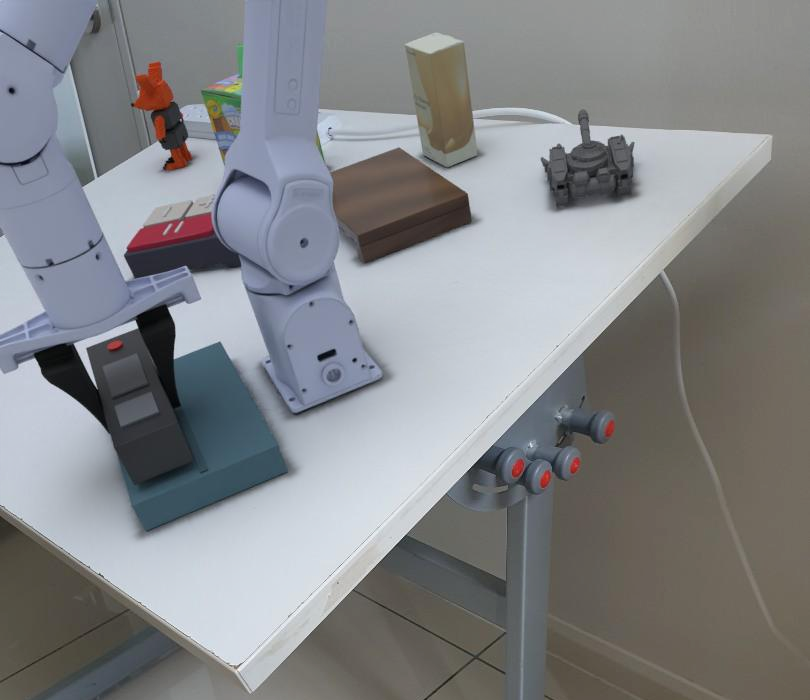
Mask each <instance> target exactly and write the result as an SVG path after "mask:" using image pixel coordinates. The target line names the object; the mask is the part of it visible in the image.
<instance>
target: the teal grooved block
mask: <svg viewBox="0 0 810 700" xmlns="http://www.w3.org/2000/svg"><path fill="white" fill-rule="evenodd" d="M174 374H175V383H176V389H177V394H178V397H179V401H180V403H181V406H180V407H177V408H175V409H174V411H175V413H176V416H177V418H178V421H179V423H180V426H181V428H182V430H183V433H184V435H185V438H186V440H187V443H188V445H189V448H190V450H191V453H192V455H193V458H194V461H192V462H190V463H188V464H185V465H183V466H180V467H178V468H175V469H173V470H170V471H168V472H166V473H163V474H161V475H158V476H156V477H153V478H151V479H148V480H146V481H144V482H141V483H139V484H136V485H134V484H133V482H132V480H131V478H130V476H129V475H128V473H127V471H126V469H125V467H124V465H123V463H122V462H121V460H120V458H119V456H118V454H117V453H116V454H117V458H118V463H119V465H120V469H121V472H122V473H121V474H122V476H123V479H124V484H125V486H126V490H127V494H128V497H129V501H130V504H131V507H132V509H133V511H134V513H135V514H136V516H137V518H138V520H139V522H140V523H141V525H142V527H143V529H144V530H145V532H147V531H151V530H152V529H155V528H157V527H160V526H162V525H164V524H167V523H169V522H171V521H174V520H176V519H179V518H180V517H183V516H185V515H188V514H190V513H193V512H195V511H198V510H200V509H203V508H205V507H207V506H209V505H213V504H214V503H217V502H219V501H221V500H224V499H226V498H228V497H231V496H233V495H236V494H238V493H241V492H243V491H246V490H248V489H251V488H252V487H255V486H257V485H260V484H262V483H264V482H267V481H269V480H272V479H274V478H277V477H278V476H281V475H283V474H286V473H288V472H289V471H288V468H287V465H286V463H285V460H284V457H283V455H282V452H281V450H280V447H279V444H278V442H277V441H276V439H275V437H274V435H273V434H272V432H271V430H270V428H269V426H268V425H267V423H266V421H265V419H264V417H263V416H262V414H261V412H260V410H259V408H258V407H257V404H256V402H255V401H254V399H253V397H252V396H251V394H250V392H249V390H248V388H247V386H246V385H245V383H244V381H243V379H242V377H241V376H240V374H239V372H238V370H237V368H236V366H235V365H234V363H233V361H232V359H231V358H230V356H229V354H228V352H227V351H226V349H225V347H224V345H223V344H222V342H221V341H217V342H214V343H212V344H210V345H206V346H205V347H202V348H199V349H197V350H194V351H192V352H189V353H186V354H184V355H181V356H179V357H176V358H174Z"/></svg>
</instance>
